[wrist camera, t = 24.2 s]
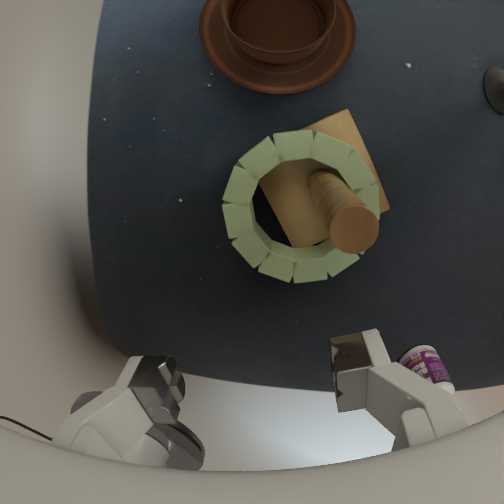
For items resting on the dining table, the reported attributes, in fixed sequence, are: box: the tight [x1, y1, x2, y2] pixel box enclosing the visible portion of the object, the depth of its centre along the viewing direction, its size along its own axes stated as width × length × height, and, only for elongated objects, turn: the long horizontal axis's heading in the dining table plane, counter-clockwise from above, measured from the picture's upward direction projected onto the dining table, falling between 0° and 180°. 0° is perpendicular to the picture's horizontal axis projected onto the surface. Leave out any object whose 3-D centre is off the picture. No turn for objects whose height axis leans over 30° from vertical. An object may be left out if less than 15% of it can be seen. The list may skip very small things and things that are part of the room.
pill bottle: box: [399, 345, 455, 395], centre depth 28 cm, size 5×5×10 cm
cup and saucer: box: [199, 0, 356, 94], centre depth 17 cm, size 12×12×6 cm
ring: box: [222, 129, 380, 283], centre depth 23 cm, size 12×12×2 cm
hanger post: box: [258, 109, 390, 254], centre depth 19 cm, size 9×9×12 cm
